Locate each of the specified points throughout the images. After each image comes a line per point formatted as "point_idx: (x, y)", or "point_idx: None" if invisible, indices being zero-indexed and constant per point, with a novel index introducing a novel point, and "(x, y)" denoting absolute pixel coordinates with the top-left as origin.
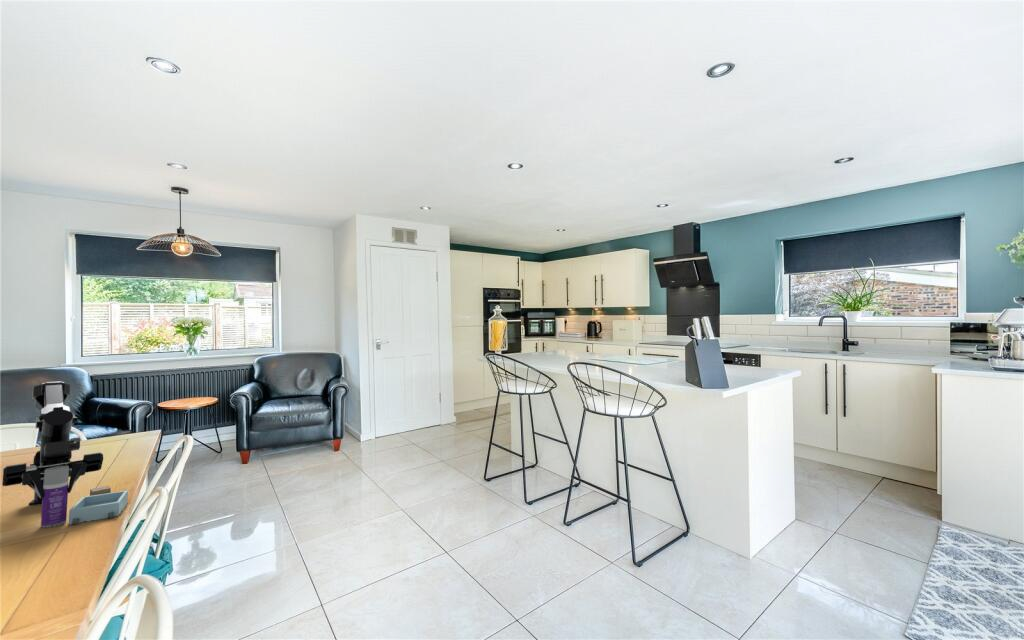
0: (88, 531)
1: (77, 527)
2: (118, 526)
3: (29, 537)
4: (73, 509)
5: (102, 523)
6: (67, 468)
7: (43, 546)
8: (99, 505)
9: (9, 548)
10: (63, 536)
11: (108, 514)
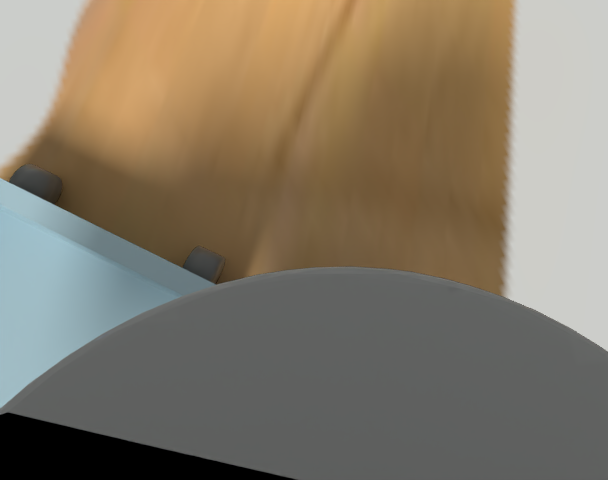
0: (213, 66)
1: (220, 194)
2: (101, 5)
3: (422, 259)
4: (196, 280)
5: (119, 135)
6: (7, 424)
7: (398, 42)
8: (47, 203)
9: (506, 159)
10: (308, 103)
11: (49, 173)
